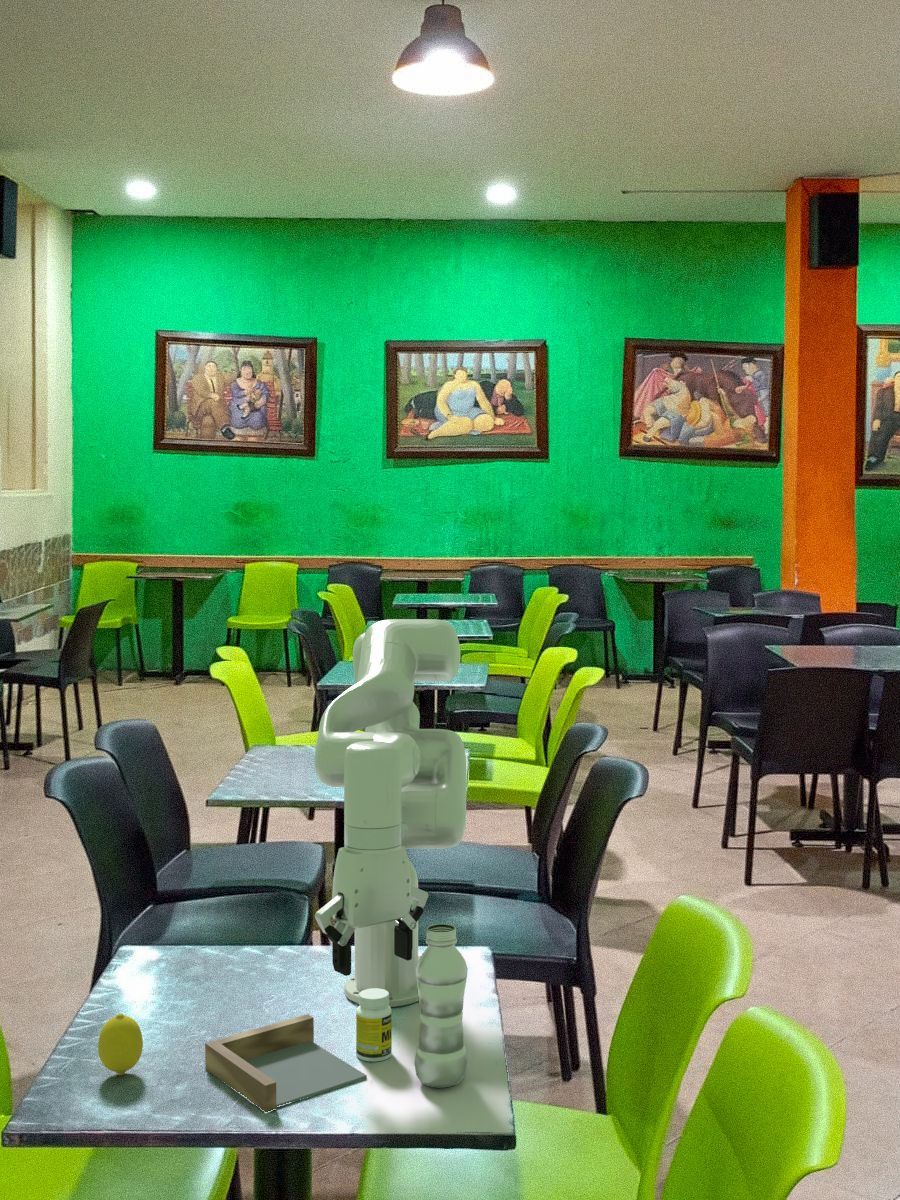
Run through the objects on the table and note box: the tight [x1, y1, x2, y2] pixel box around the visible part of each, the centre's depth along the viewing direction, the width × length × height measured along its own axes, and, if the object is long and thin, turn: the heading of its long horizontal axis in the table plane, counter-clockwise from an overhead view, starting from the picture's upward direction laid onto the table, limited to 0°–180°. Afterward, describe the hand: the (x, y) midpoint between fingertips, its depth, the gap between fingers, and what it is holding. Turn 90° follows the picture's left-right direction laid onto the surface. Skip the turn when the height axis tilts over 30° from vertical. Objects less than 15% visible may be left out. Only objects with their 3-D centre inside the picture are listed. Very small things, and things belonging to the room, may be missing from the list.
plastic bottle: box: [414, 923, 468, 1089], centre depth 163 cm, size 6×7×20 cm
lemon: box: [97, 1013, 144, 1076], centre depth 166 cm, size 6×6×8 cm
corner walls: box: [204, 1014, 315, 1112], centre depth 166 cm, size 16×16×4 cm
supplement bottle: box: [355, 988, 393, 1063], centre depth 172 cm, size 5×5×8 cm
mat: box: [245, 1041, 368, 1106], centre depth 166 cm, size 14×14×1 cm
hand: (373, 965), depth 170 cm, fingers open, 9 cm apart
